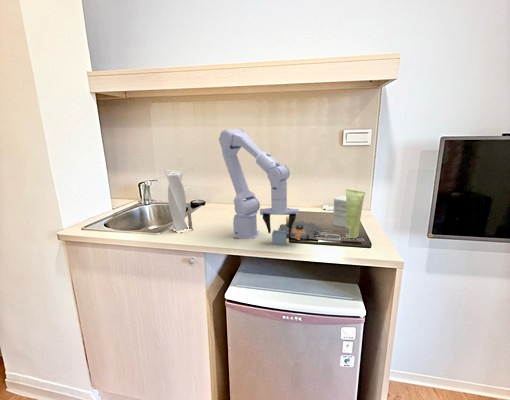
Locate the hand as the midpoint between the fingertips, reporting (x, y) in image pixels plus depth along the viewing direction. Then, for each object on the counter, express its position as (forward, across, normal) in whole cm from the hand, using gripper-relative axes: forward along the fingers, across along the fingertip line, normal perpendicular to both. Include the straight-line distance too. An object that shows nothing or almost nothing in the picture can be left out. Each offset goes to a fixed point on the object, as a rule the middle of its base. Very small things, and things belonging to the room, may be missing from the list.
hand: (279, 232), depth 106 cm
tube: (+5, -28, -8) cm, 30 cm away
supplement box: (+5, -27, -24) cm, 36 cm away
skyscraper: (+5, +46, -12) cm, 47 cm away
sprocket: (+4, -8, -12) cm, 15 cm away
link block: (+5, 0, 0) cm, 5 cm away
